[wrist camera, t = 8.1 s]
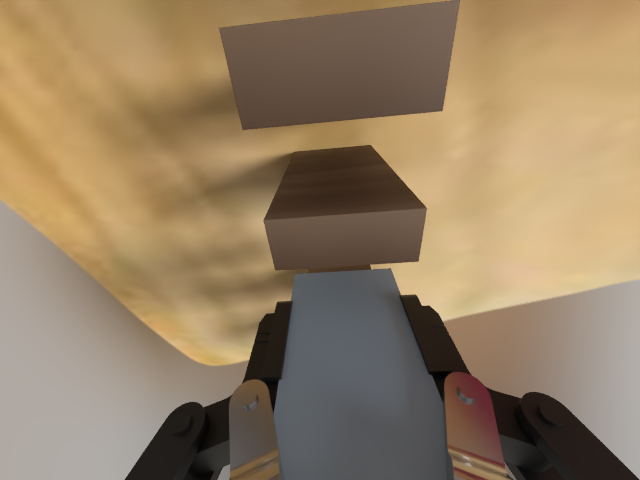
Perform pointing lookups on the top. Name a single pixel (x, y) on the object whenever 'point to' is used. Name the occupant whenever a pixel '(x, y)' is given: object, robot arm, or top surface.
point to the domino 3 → (356, 385)
